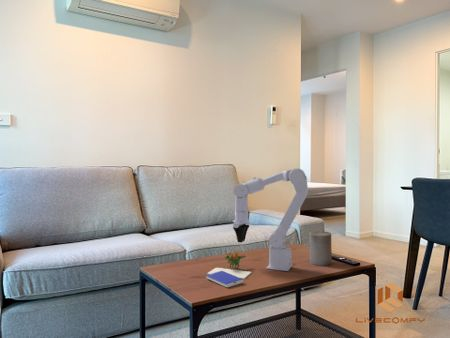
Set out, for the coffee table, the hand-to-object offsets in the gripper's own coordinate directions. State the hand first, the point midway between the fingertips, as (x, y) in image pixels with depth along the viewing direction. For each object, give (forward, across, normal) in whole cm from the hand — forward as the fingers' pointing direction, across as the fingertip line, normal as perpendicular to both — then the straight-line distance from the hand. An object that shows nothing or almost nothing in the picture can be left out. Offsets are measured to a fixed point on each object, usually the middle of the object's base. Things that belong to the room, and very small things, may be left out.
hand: (241, 241), depth 161 cm
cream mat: (+10, +14, 0) cm, 17 cm away
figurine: (+10, +7, 0) cm, 13 cm away
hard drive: (+10, +24, +2) cm, 26 cm away
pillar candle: (+11, -17, +32) cm, 38 cm away
